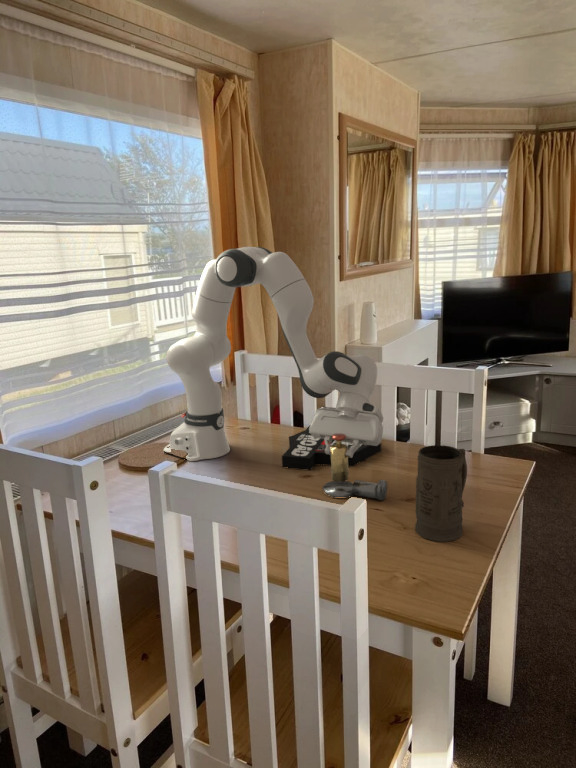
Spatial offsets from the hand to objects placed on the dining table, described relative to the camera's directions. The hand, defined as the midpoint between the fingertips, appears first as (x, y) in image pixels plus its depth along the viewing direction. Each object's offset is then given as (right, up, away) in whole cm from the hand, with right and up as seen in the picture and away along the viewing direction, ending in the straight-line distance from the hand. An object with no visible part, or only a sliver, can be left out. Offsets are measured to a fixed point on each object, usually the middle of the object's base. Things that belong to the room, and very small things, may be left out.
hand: (338, 455), depth 153 cm
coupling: (+4, -11, +1) cm, 12 cm away
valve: (+1, -7, +2) cm, 7 cm away
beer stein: (+23, -15, -18) cm, 33 cm away
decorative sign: (+2, -3, +34) cm, 34 cm away
